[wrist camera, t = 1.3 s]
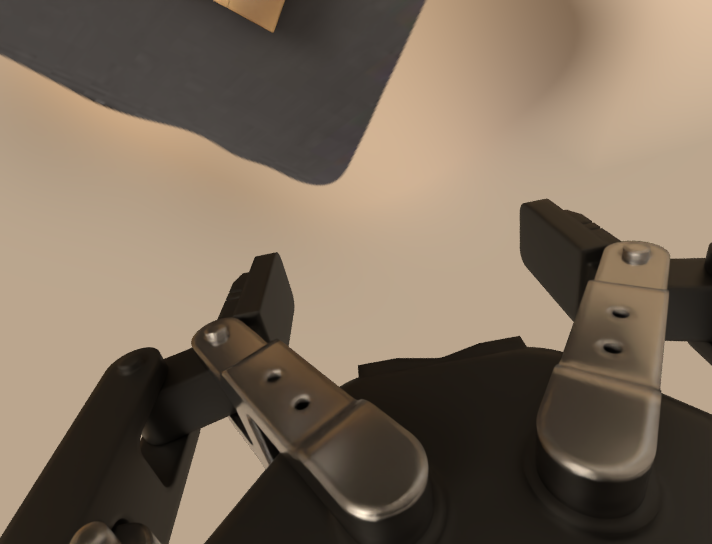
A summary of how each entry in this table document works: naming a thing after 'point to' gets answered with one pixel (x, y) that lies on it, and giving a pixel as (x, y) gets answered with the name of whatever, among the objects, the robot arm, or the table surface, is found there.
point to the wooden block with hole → (257, 11)
